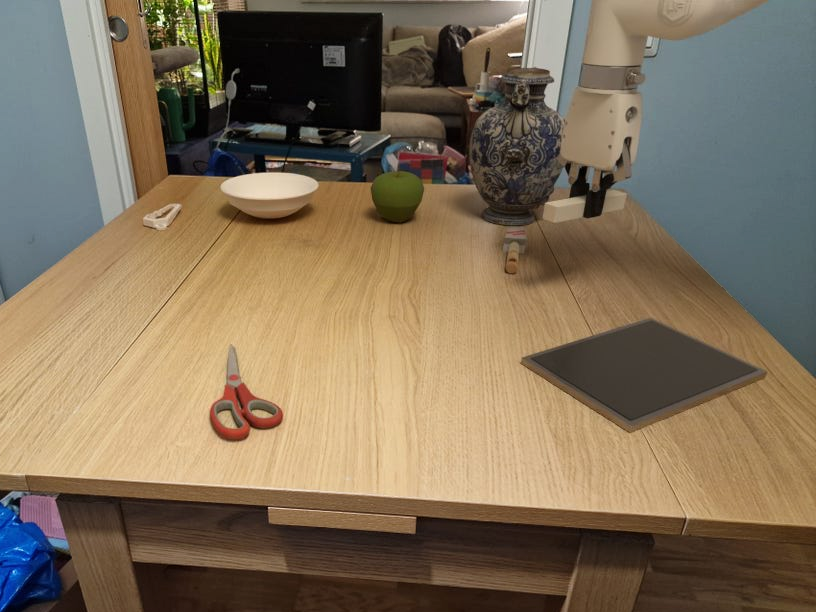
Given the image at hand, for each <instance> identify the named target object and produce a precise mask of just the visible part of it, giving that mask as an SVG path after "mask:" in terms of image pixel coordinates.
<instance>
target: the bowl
mask: <svg viewBox="0 0 816 612" xmlns="http://www.w3.org/2000/svg"><path fill="white" fill-rule="evenodd" d="M219 188H220V190H221V191H222V193H223V194H224V195H225V196H226V198H227V201H228V202H229V204H230V205H231V206H233V207H235V208H237V209H239V210H240V211H242V212H243V213H245V214H246V215H249V216H252V217H254V218H258V219H267V220H268V219H269V220H271V219H272V220H273V219H281V218H285V217H288V216H291V215H292V214H295V213H296V212H298V211H300V210H301V209H302V208H303V207H304V206H306V205H308V204H309V203H310V202H311V201H312V198H313V196H314V193H315V192H316V190H318V188H319V182H318V181H317V180H316V179H315V178H312V177H310V176H307V175H303V174H298V173H292V172H255V173H247V174H241V175H237V176H235V177H231V178H229V179H226V180H224V181H223V182H222V183H221V184H220V187H219Z"/></svg>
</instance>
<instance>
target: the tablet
mask: <svg viewBox="0 0 816 612" xmlns="http://www.w3.org/2000/svg"><path fill="white" fill-rule="evenodd" d="M520 364H521V365H523V366H524V367H526V368H527V369H529V370H530V371H532V372H533V373H534V374H537V375H539V377H542V378H543V379H544V380H546V381H547V382H549V383H551V384H553V385H554V386H556V387H557V388H558V389H560V390H562V391H563V392H565V393H566V394H568V395H569V396H571V397H573V398H574V399H576V400H577V401H579V402H581V403H582V404H584V405H585V406H587V407H589V408H590V409H592V410H593V411H595V412H597V413H598V414H600V415H601V416H603V417H604V418H605V419H607V420H609V421H610V422H612V423H614V424H616V426H618V427H620V428H622V429H623V430H625V431H626V432H627V433H634V432H635V431H638V430H640V429H643V428H645V427H648V426H650V425H652V424H655V423H658V422H660V421H662V420H665V419H667V418H669V417H673V416H674V415H677V414H679V413H682V412H684V411H687V410H690V409H692V408H694V407H697V406H699V405H702V404H704V403H706V402H709V401H711V400H714V399H716V398H719V397H721V396H724V395H726V394H729V393H731V392H734V391H736V390H739V389H741V388H743V387H745V386H748V385H750V384H753V383H755V382H759V381H760V380H762V379H766V377H767V374H768V371H767V370H765V369H763V368H761V367H759V366H756V365H754V364H752V363H750V362H747V361H745V360H743V359H741V358H739V357H737V356H735V355H732V354H730V353H729V352H726V351H725V350H722V349H720V348H718V347H715V346H713V345H711V344H709V343H706V342H704V341H702V340H700V339H698V338H697V337H693V336H691V335H690V334H688V333H685V332H683V331H681V330H678V329H676V328H674V327H672V326H670V325H667V324H665V323H663V322H661V321H659V320H657V319H655V318H652V317H649V318H645V319H642V320H639V321H636V322H633V323H629V324H626V325H622V326H619V327H616V328H613V329H609V330H606V331H603V332H600V333H596V334H594V335H590V336H587V337H583V338H580V339H576V340H574V341H571V342H567V343H564V344H561V345H557V346H554V347H552V348H548V349H545V350H541V351H538V352H535V353H532V354H529V355H526V356H522V357H521V358H520Z"/></svg>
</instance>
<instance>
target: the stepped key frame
mask: <svg viewBox="0 0 816 612" xmlns="http://www.w3.org/2000/svg"><path fill="white" fill-rule="evenodd" d="M182 208H183V207H182V204H180V203H169V204H168V205H166V206H164V207H163V208H160V209H159V210H154V211H153V212H152V213H148V214H146V215H145V216H144V217H143V218H142V222H143V225H144V226H145V227H150V228H153V229H155V230H156V231H166V230H168V227H169V226H170V225H171V224H172V223H173V222H174V219H175V218H176V217H177V215H178V214H179V212H180V210H181V209H182ZM169 209H171V210H170V212H169V213H168V214H166V216H165V217H163V216H162V215H163V214H164V213H166V212H167V211H168V210H169ZM161 216H162V217H161ZM158 217H159V218H158ZM160 217H161V218H160Z"/></svg>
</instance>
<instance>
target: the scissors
mask: <svg viewBox="0 0 816 612" xmlns="http://www.w3.org/2000/svg"><path fill="white" fill-rule="evenodd" d="M241 379H242V377H241V374H240V367H239V362H238V354H237V350H236V347H235V346H234V345H233V344H232V343H231V344H230V345H229V348H228V355H227V364H226V384H224V390H223V395H222V396H221V398H219V399H217V400H216V401H214V402H213V403H212V404H211V406H210V409H209V416H210V421H211V424H212V426H213V427H214V429H215V430H216V431H217V433H218V434H219V435H220V436H222V437H223V438H225V439H229V440H240V439H244V438H245V437H247V436H248V435H249V434H250V431H251V426H253V427H256V428H259V429H267V428H268V429H269V428H272V427H276V426H277V425H279V424H280V423H281V422H282V420H283V418H284V412H283V409H281V407H280V406H279V405H277V404H276V403H274V402H272V401H269V400H266V399H263V398H261V397H258V396H255V395H254V394H253V393H252V392H251V391H250V389H249V388H248V387H247V385H246V383H245V382H242V380H241ZM238 399H239V401H238ZM239 402H240V405H241V407H242V409H241V408H240V407H239V406H240V405H239ZM255 409H260V410H265V411H267V412H269V413H271V414H273V415H272V416H269V417H260V416H257V415H256V414H254V413H253V412H252V410H255ZM223 410H231V414H232V416H233V419H234V421H235V422H236V424H237V425H238V427H236V428H235V427H234V428H233V427H227V426H226V425H225V424H223V422H222V421H221V420H220V418H219V415H218V413H219V412H221V411H223Z"/></svg>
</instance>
